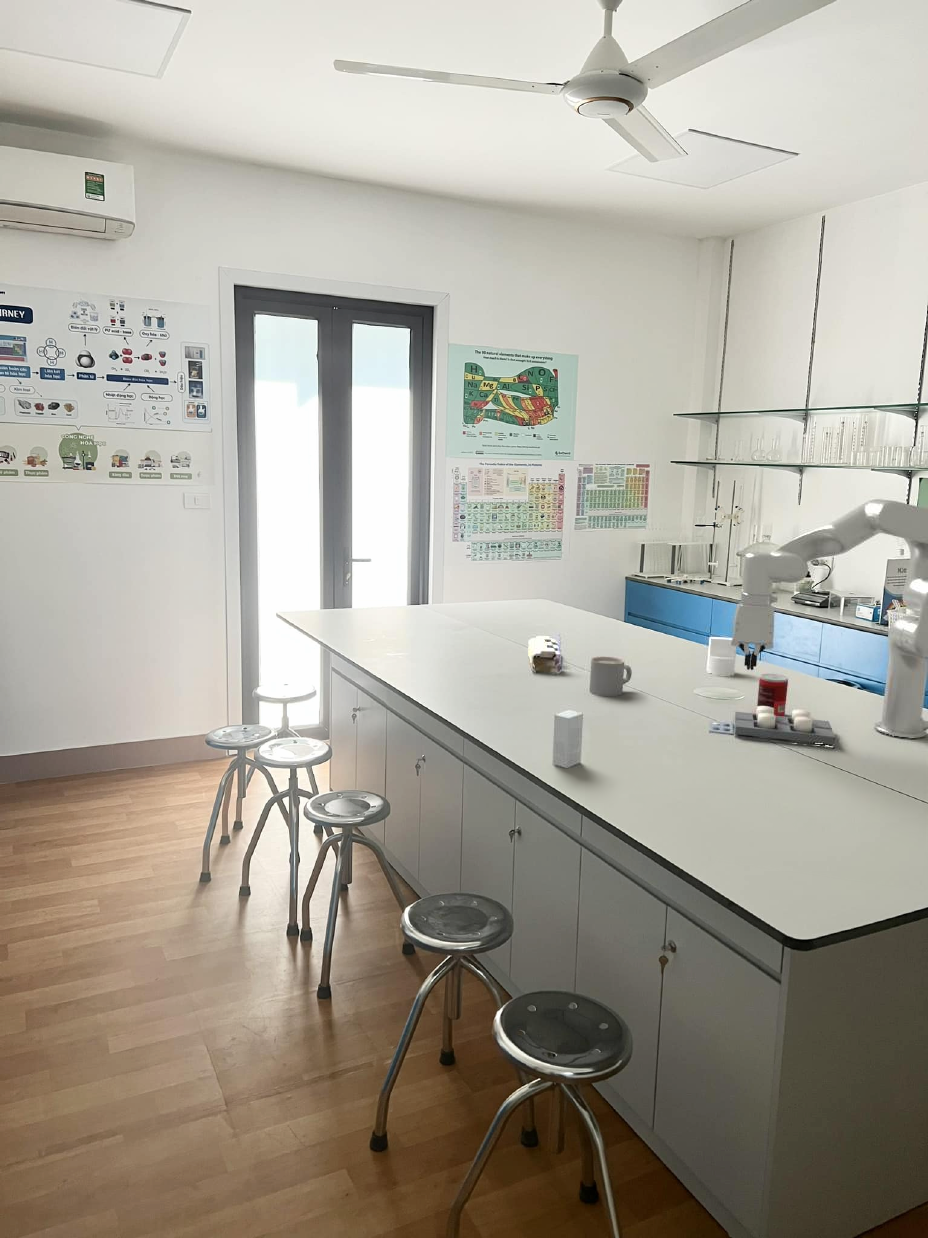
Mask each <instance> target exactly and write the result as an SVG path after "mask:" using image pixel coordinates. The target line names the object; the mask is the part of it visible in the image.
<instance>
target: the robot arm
mask: <svg viewBox="0 0 928 1238" xmlns="http://www.w3.org/2000/svg"><path fill="white" fill-rule="evenodd" d="M879 534H885V535H889V536H893V537H897V538H899V539H900V538H901V539H903V540H904V541H905V542H906V544H907V546H908V549H909V552H910V553H909V554H910V555H909V557H910V558H909V564H908V570H907V574H906V578H905V582H904V586H903V591H902V597H901V598H902V602H903V604H904V606H905V607H906V608H908V609H909V610H911V611H913V612H915V613H919V616H915V615H904V616H901V617H899V618H897V619H895V620H894V621H893V622H892V623H891V624H890V627H889V629H888V635H887V643H888V665H887V672H886V680H885V688H884V697H883V705H882V706H883V707H882V713H881V714H882V715H881V721H878V722H875V723H874V727H875V728H876V731H877V730H878V731H881V732H883V733H885V734H884V735H886V734H890V735H892V736H891V737H894V736H900V737H923V736H925V735H926V736H927V731H928V720H925V719H924V718H923V708H924V700H925V694H926V693H925V691H926V685H927V677H928V508H927V507H924V506H923V507H922V506H917V505H913V504H908V503H904V502H901V501H897V500H891V499H890V500H889V499H881V498H880V499H879V498H878V499H877V498H876V499H872V500H868V501H866V502H864V503H862V504H861V505H859V506H857V507H855V508H854V509H852V510H850V511H849V512H847V513H845V514H843V515H842V516H840V517H839V518H837V519H835V520H833V521H832V522H830V523H828V524H826V525H824V526H822V527H819V528H816V529H814V530H811V531H810V532H807V533H804V534H801V535H799V536H797V537H794V538H792V539H790V540H789V541H787V542H785V543H784V544H782V545H780V546H779V547H777V548H776V549H774V550H772V551H771V552H770V553H768V552H758V551H757V552H756V551H755V552H748V553H747V554H745V556H744V559H743V560H744V561H743V570H742V571H743V572H742V582H741V595H740V603H737V606H736V609H735V612H734V619H733V626H732V637H731V638H732V641H731V645H733V646H736V648H739V649H740V650H741V651H742V652H743V653H744V666H746V670H747V671H749V670H751V671H754V667H757V664H758V663H757V662H758V655H759V654H761V653H762V652H763V651H764V650H771V649H774V635H775V608H774V605H772V604H773V603H774V604H775V603H777V602H778V596H777V597H776V596H773V595H772V594H773V586H774V582H782V583H787V584H796V583H800V582H801V581H803V580H804V579H805V578H806V576H807V575H808V573H809V564H808V563H809V562H811V561H814V560H817V559H821V558H827V557H834V556H839V555H842V554H845V553H848V552H849V551H850V550H852V549H854V548H856V547H858V546H860V545H861V544H863V543H864V542H866V541H868V540H869V539H872V538H873V537H875V536H876V535H879ZM750 644H755V645H754V649H753V650H752V653H751V651H750V648H749V647H750ZM875 728H874V729H875ZM878 731H877V732H878ZM883 733H882V734H883ZM890 735H889V736H890ZM926 736H925V737H926ZM900 737H899V738H900ZM923 738H924V737H923Z"/></svg>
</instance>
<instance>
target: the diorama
mask: <svg viewBox="0 0 928 1238" xmlns="http://www.w3.org/2000/svg"><path fill="white" fill-rule="evenodd" d="M561 643H562V642H561V633H560V632H559V634H558V641H557V640H556V639H555V638H551V637H550V636H549V635H548V636H547V635H546V636H544V635H536V637H534V638H533V637H532V638H530V639H529V640H528V642H527V654H528V659H529V662H530V667H531V669H532V671H533V673H534V674H536V673H537V672H536V667H535V664H534V657H533V656H536V657H535V658H538V657H537V656H540V657H539V658H552V659H554V660H553V661H554V665H556V666H555V667H556V668H557V669H556V671H557V674H558V673H560V674H561V672H562V671H563V670H564V659H565V658H564V655H563V653H562V650H561ZM555 660H556V661H555Z"/></svg>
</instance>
